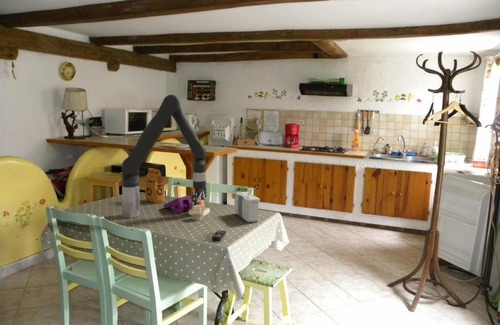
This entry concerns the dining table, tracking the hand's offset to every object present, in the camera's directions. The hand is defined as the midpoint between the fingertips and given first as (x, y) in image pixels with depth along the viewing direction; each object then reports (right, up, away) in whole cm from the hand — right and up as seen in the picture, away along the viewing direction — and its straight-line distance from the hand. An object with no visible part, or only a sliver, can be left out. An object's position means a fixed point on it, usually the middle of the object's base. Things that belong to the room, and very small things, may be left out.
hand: (199, 207), depth 229 cm
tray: (0, -4, +1) cm, 4 cm away
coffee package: (-33, 0, +29) cm, 44 cm away
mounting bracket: (-15, -3, +8) cm, 18 cm away
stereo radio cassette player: (+28, -6, -6) cm, 29 cm away
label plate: (-2, -2, +18) cm, 18 cm away
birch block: (+1, -6, -10) cm, 12 cm away
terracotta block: (0, -4, 0) cm, 4 cm away
